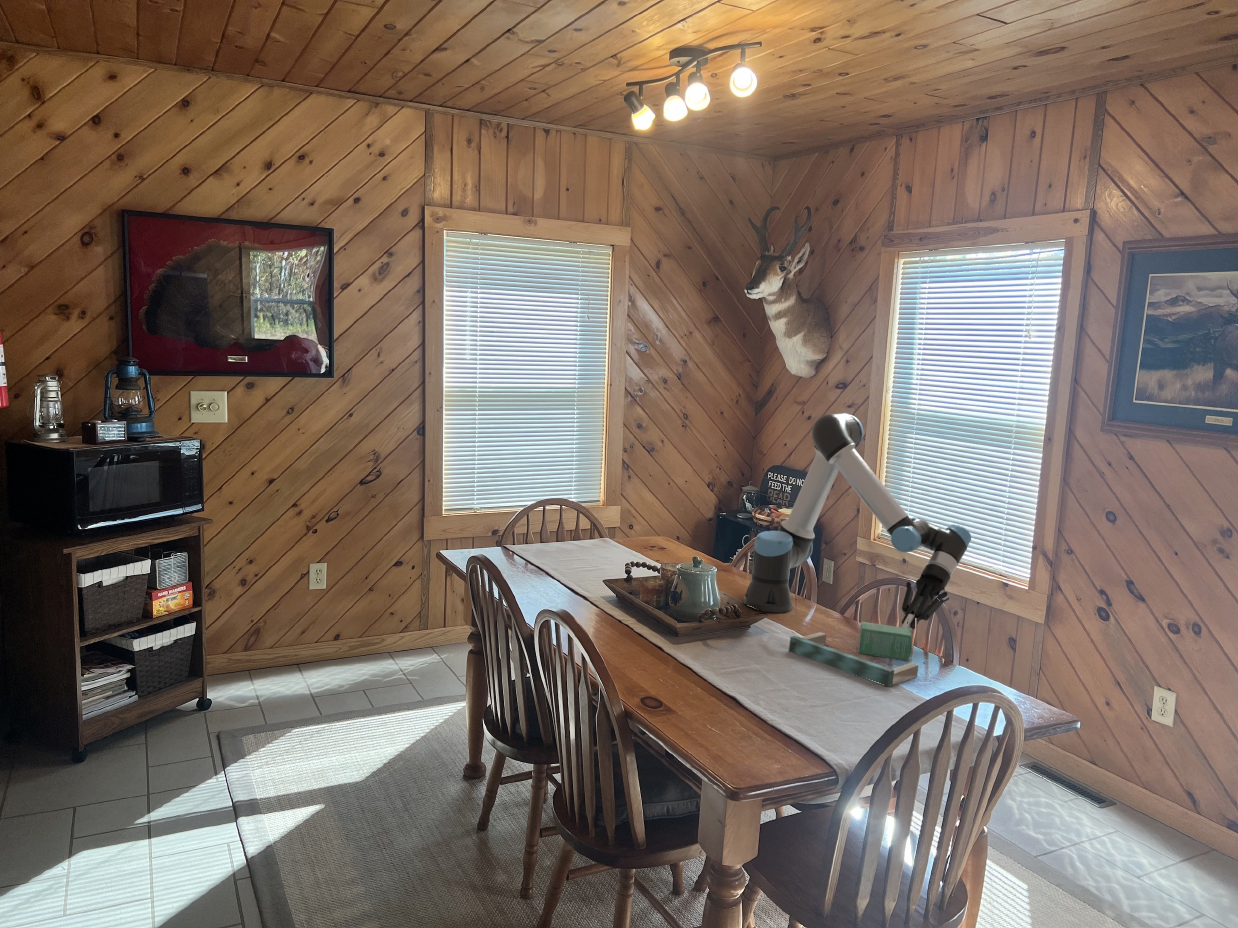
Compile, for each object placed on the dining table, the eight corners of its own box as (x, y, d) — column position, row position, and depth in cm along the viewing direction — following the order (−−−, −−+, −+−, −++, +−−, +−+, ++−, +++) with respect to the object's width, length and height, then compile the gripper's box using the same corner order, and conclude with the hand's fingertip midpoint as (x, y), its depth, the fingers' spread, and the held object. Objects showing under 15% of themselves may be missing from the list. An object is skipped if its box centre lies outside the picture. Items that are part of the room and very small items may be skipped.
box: (910, 661, 236) (913, 634, 235) (858, 654, 239) (861, 627, 238) (907, 653, 243) (910, 627, 243) (857, 646, 246) (860, 620, 245)
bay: (788, 650, 237) (790, 636, 237) (819, 642, 247) (820, 628, 246) (888, 687, 215) (889, 671, 215) (917, 676, 225) (919, 661, 224)
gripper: (963, 583, 254) (927, 649, 245) (921, 573, 263) (885, 636, 254) (956, 568, 250) (920, 634, 241) (914, 558, 259) (877, 621, 250)
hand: (902, 635), depth 247 cm, fingers closed
